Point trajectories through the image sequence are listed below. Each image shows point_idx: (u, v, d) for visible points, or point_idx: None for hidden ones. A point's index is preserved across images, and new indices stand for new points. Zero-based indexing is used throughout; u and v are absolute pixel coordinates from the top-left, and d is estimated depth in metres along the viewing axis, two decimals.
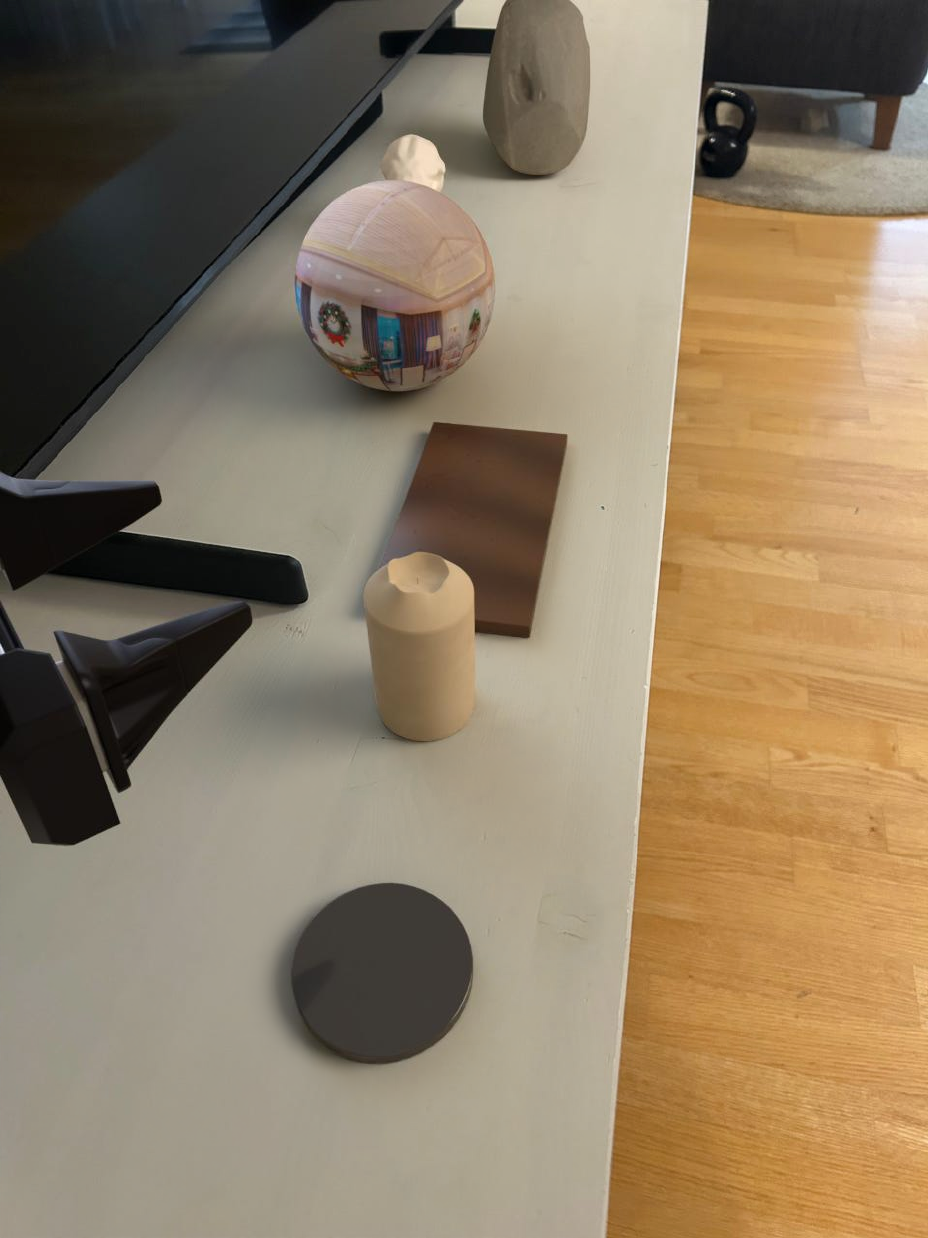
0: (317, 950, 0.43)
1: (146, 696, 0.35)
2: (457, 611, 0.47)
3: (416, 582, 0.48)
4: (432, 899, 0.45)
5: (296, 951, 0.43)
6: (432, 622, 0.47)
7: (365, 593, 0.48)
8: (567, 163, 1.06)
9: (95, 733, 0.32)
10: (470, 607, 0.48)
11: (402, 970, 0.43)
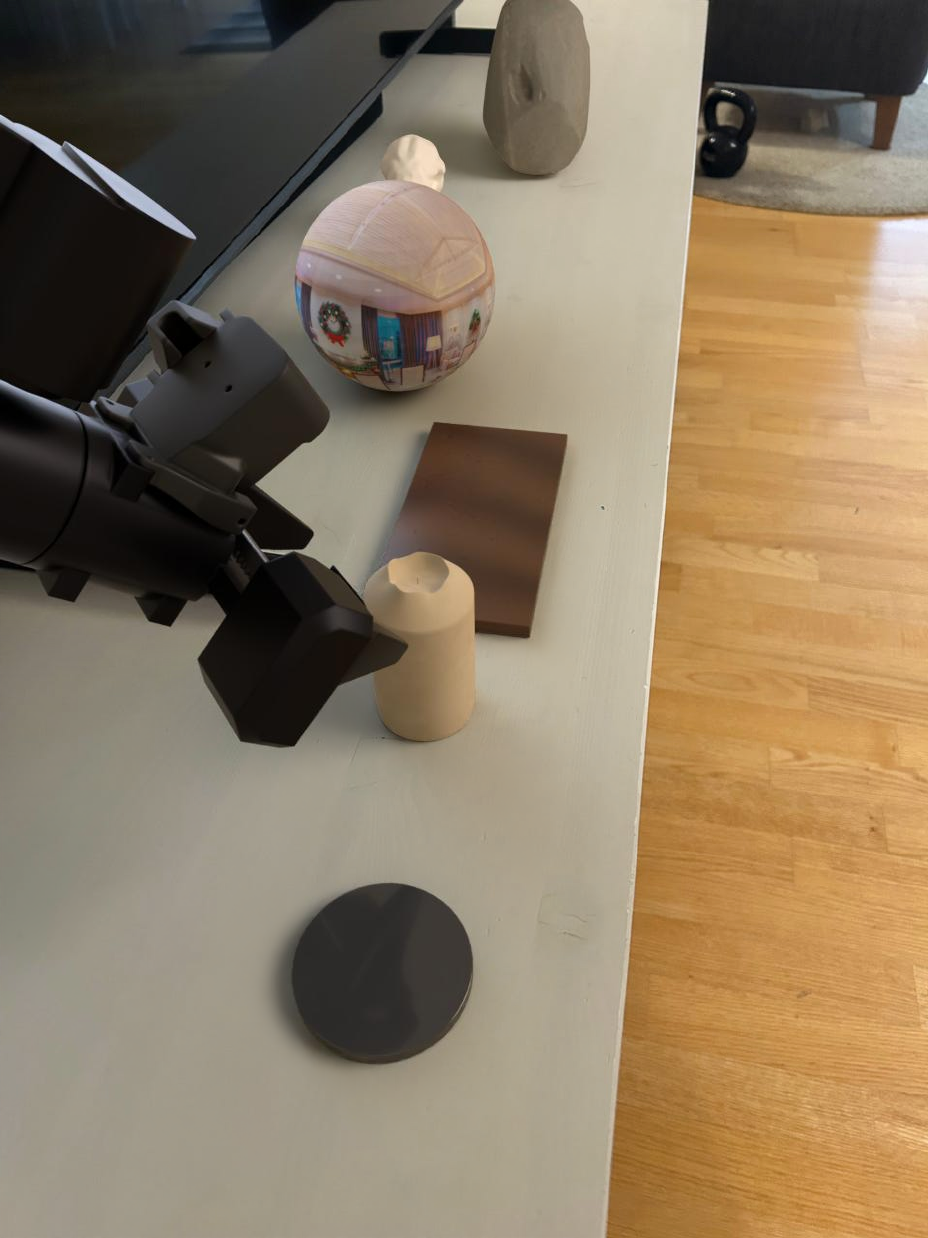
0: (317, 950, 0.43)
1: None
2: (457, 611, 0.47)
3: (416, 582, 0.48)
4: (432, 899, 0.45)
5: (296, 951, 0.43)
6: (432, 622, 0.47)
7: (365, 593, 0.48)
8: (567, 163, 1.06)
9: None
10: (470, 607, 0.48)
11: (402, 970, 0.43)
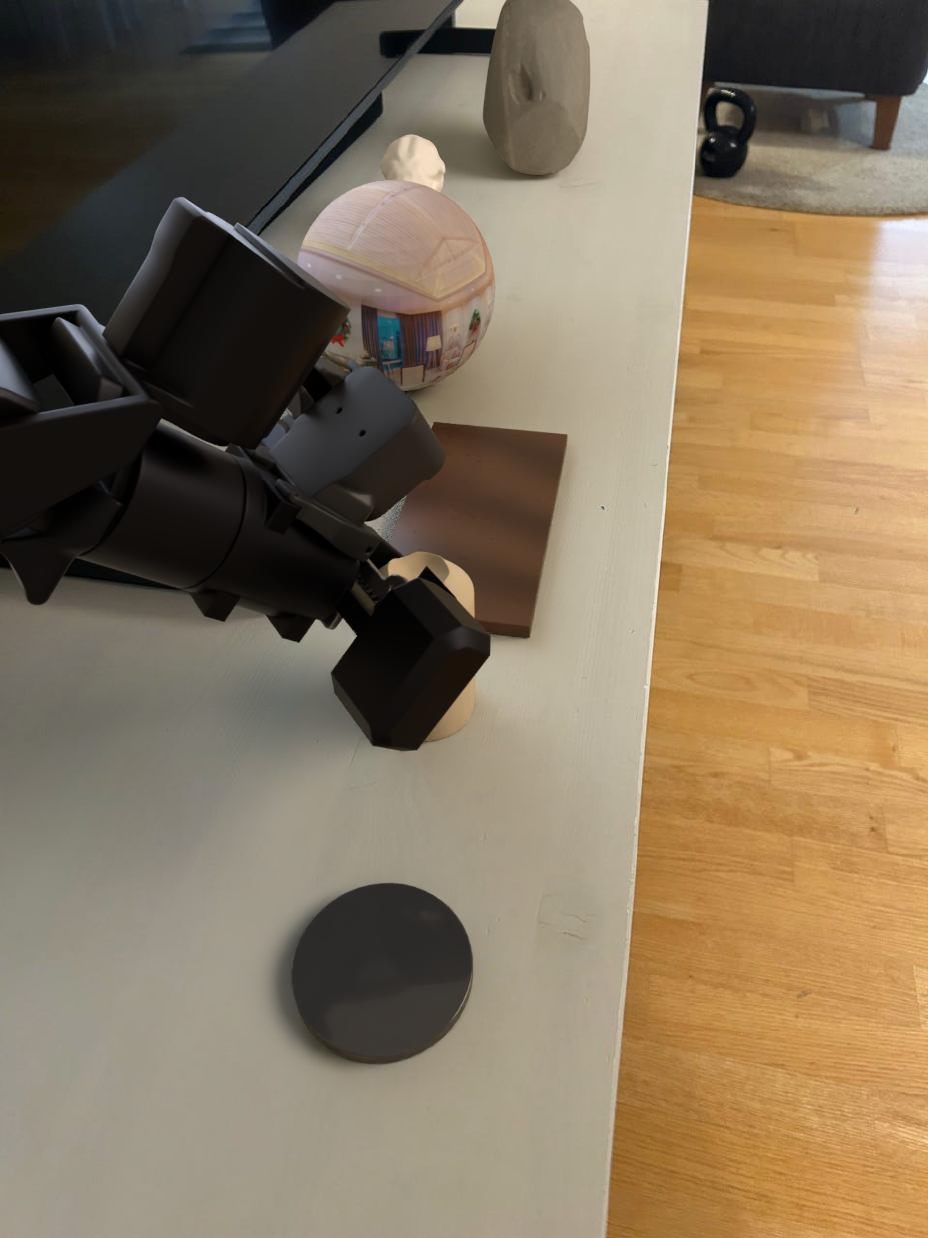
0: (317, 950, 0.43)
1: None
2: None
3: None
4: (432, 899, 0.45)
5: (296, 951, 0.43)
6: None
7: None
8: (567, 163, 1.06)
9: None
10: (470, 607, 0.48)
11: (402, 970, 0.43)
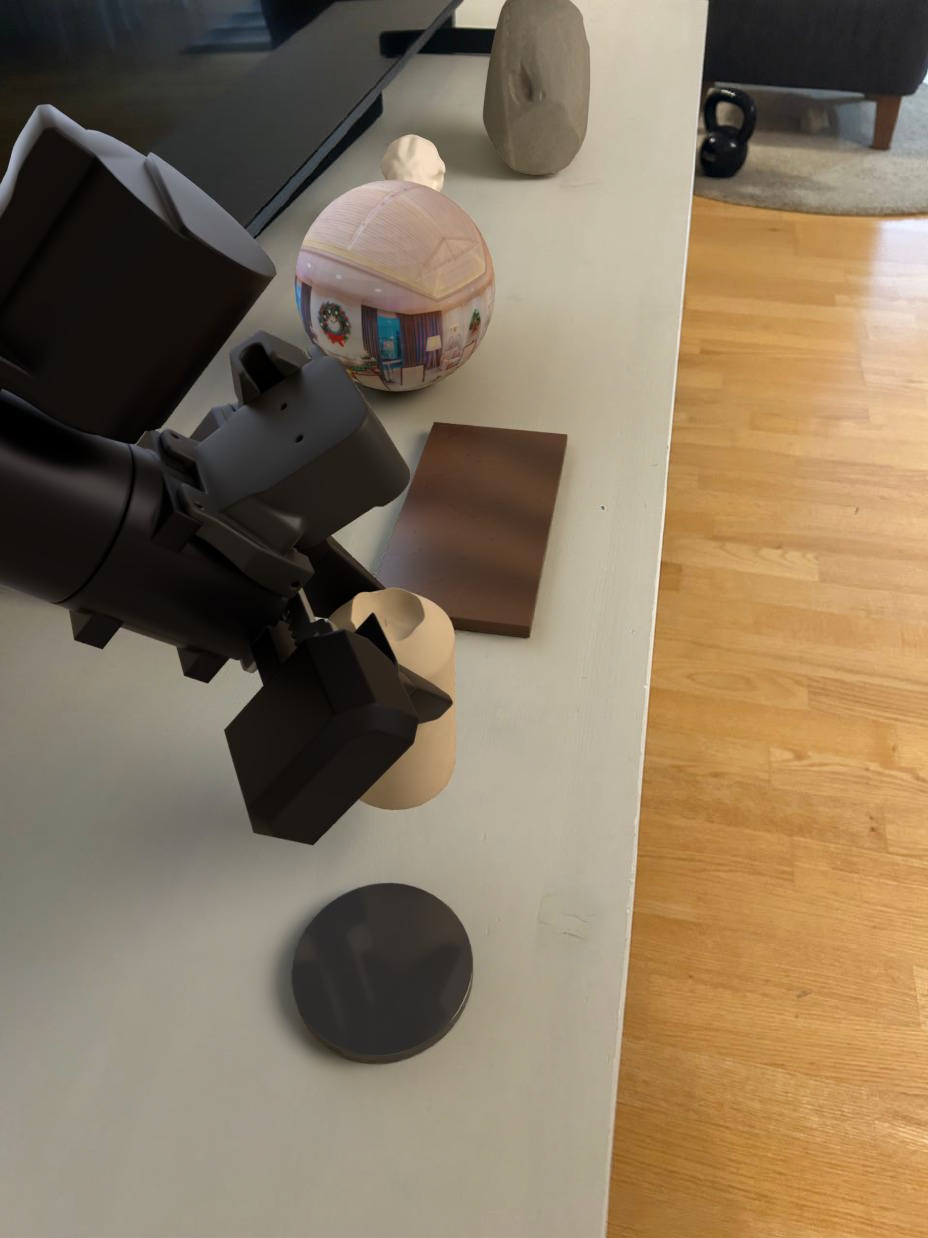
0: (317, 950, 0.43)
1: None
2: (425, 667, 0.38)
3: (385, 624, 0.40)
4: (432, 899, 0.45)
5: (296, 951, 0.43)
6: None
7: None
8: (567, 163, 1.06)
9: None
10: (444, 664, 0.39)
11: (402, 970, 0.43)
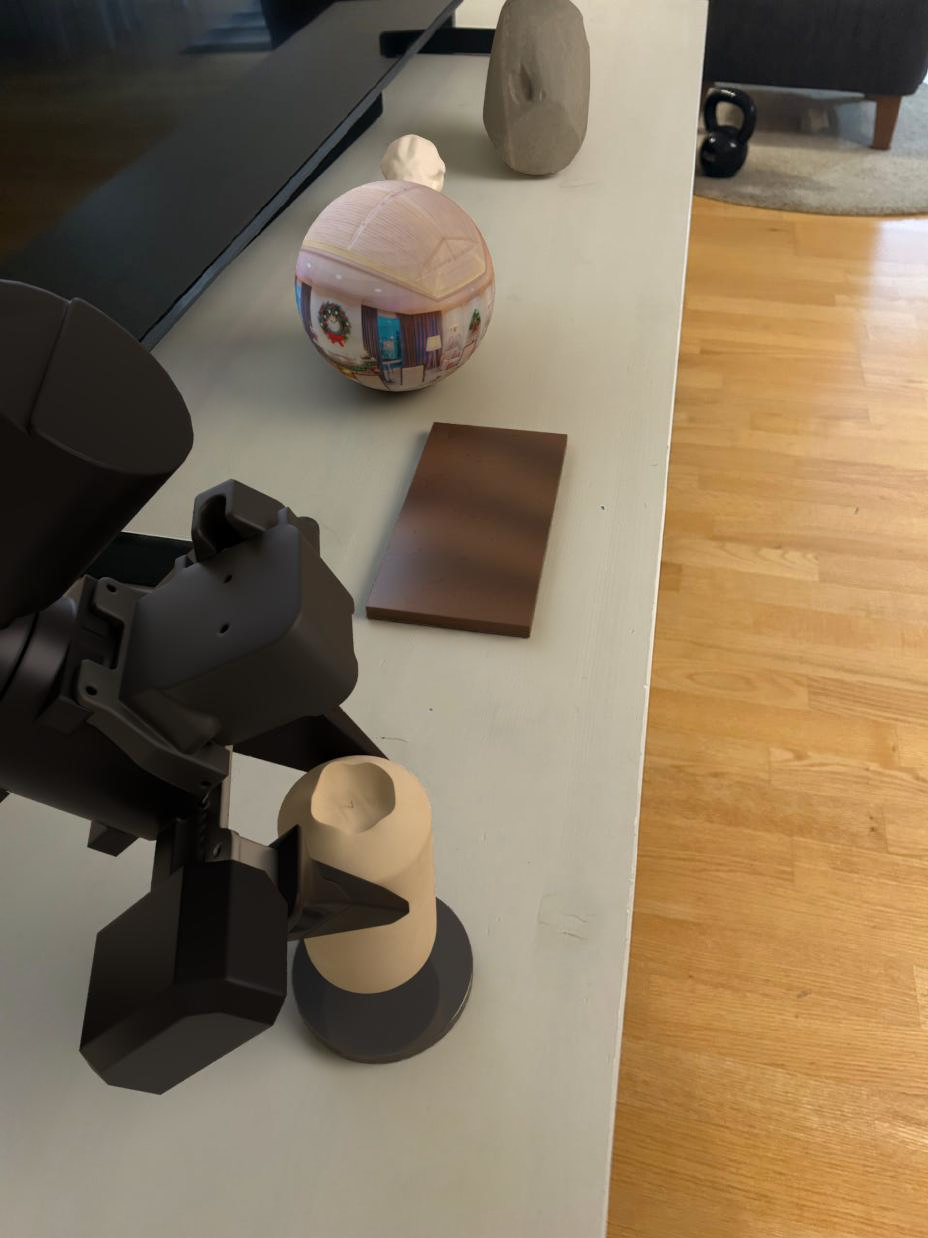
0: None
1: None
2: (379, 869, 0.33)
3: (352, 804, 0.35)
4: None
5: (296, 951, 0.43)
6: None
7: (290, 791, 0.36)
8: (567, 163, 1.06)
9: None
10: (405, 867, 0.34)
11: None
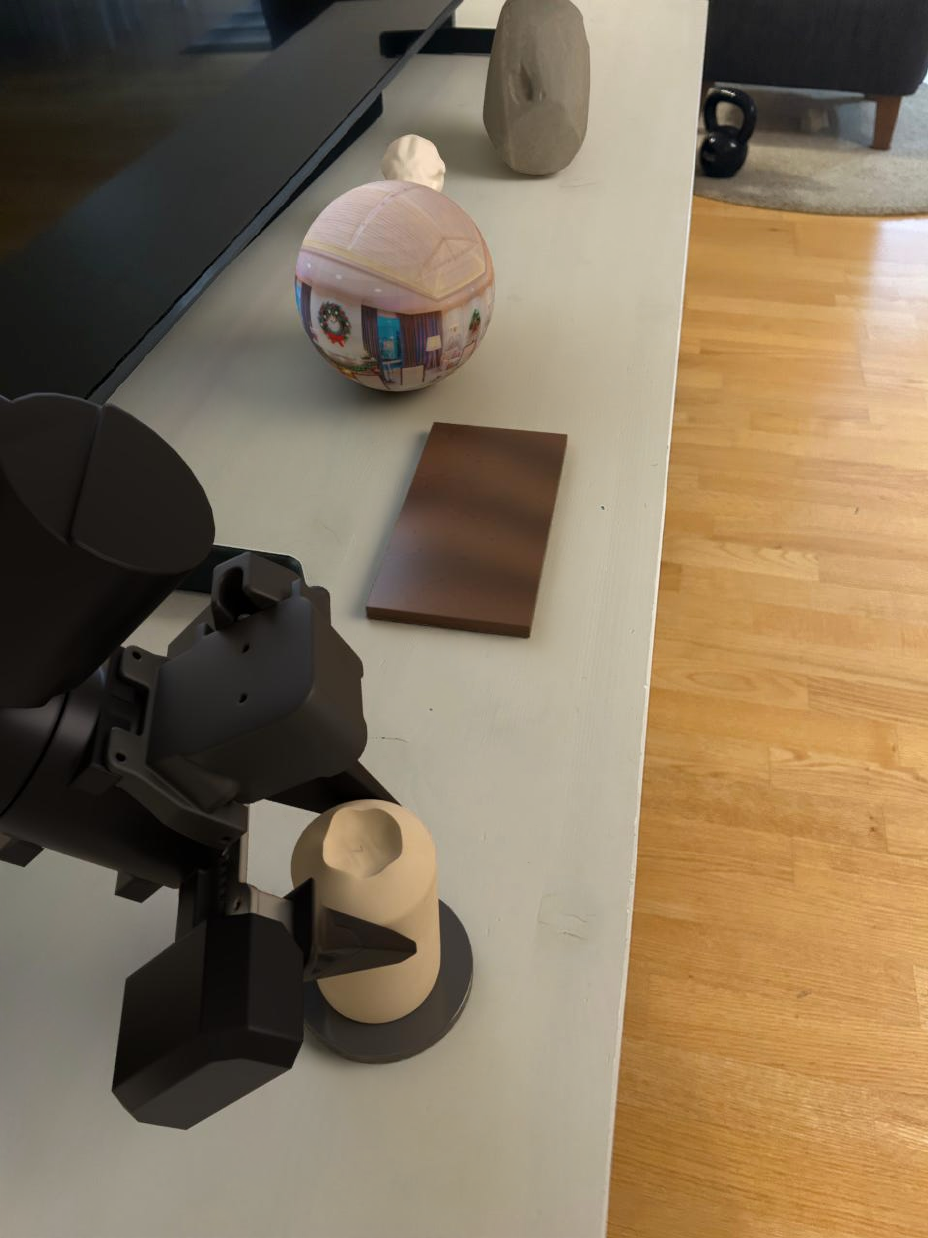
0: None
1: None
2: (387, 911, 0.35)
3: (361, 848, 0.37)
4: None
5: None
6: None
7: (302, 835, 0.38)
8: (567, 163, 1.06)
9: None
10: (411, 909, 0.36)
11: None
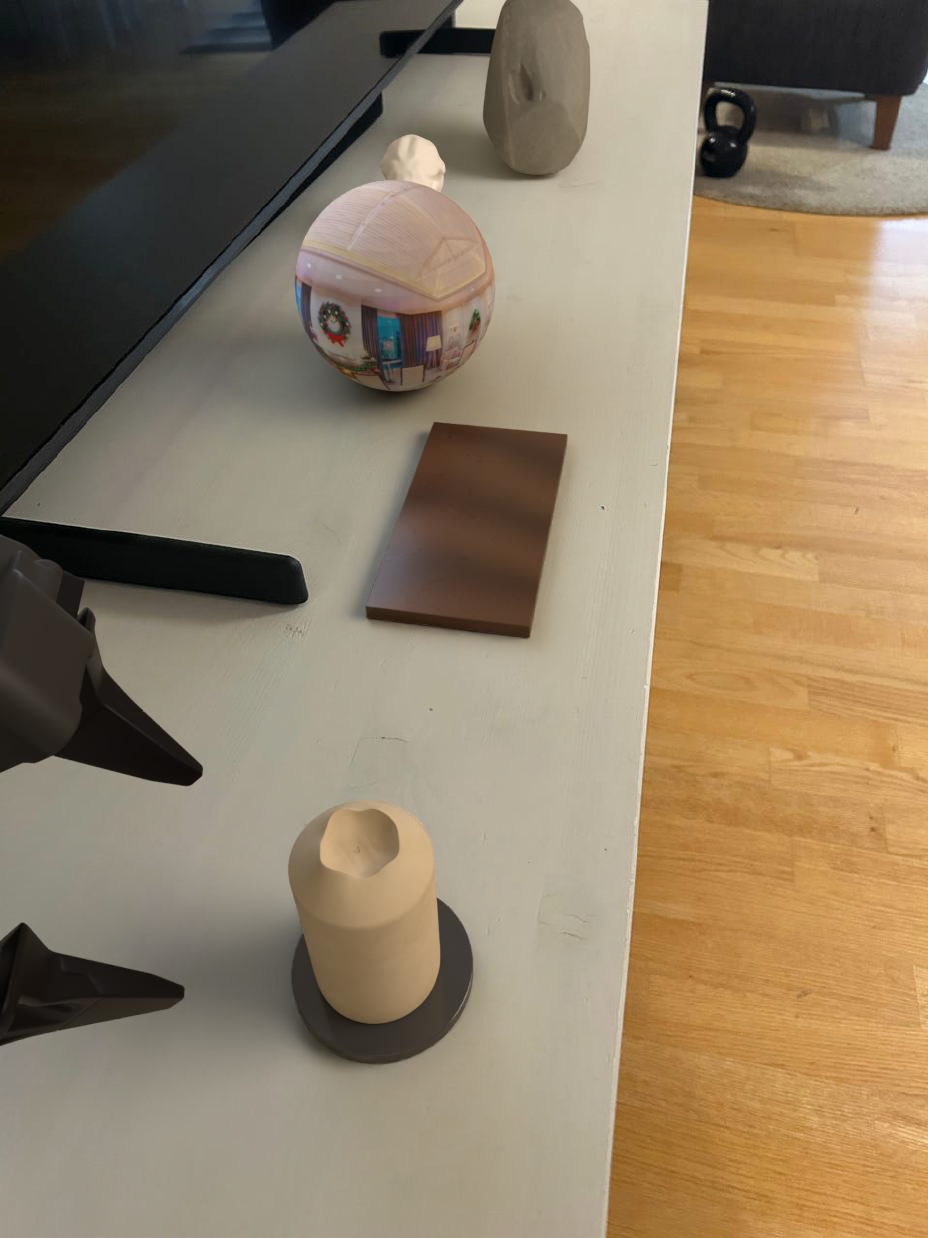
0: None
1: (23, 1015, 0.30)
2: (385, 912, 0.35)
3: (358, 849, 0.37)
4: None
5: (296, 951, 0.43)
6: (345, 916, 0.35)
7: (299, 836, 0.38)
8: (567, 163, 1.06)
9: None
10: (409, 909, 0.36)
11: None
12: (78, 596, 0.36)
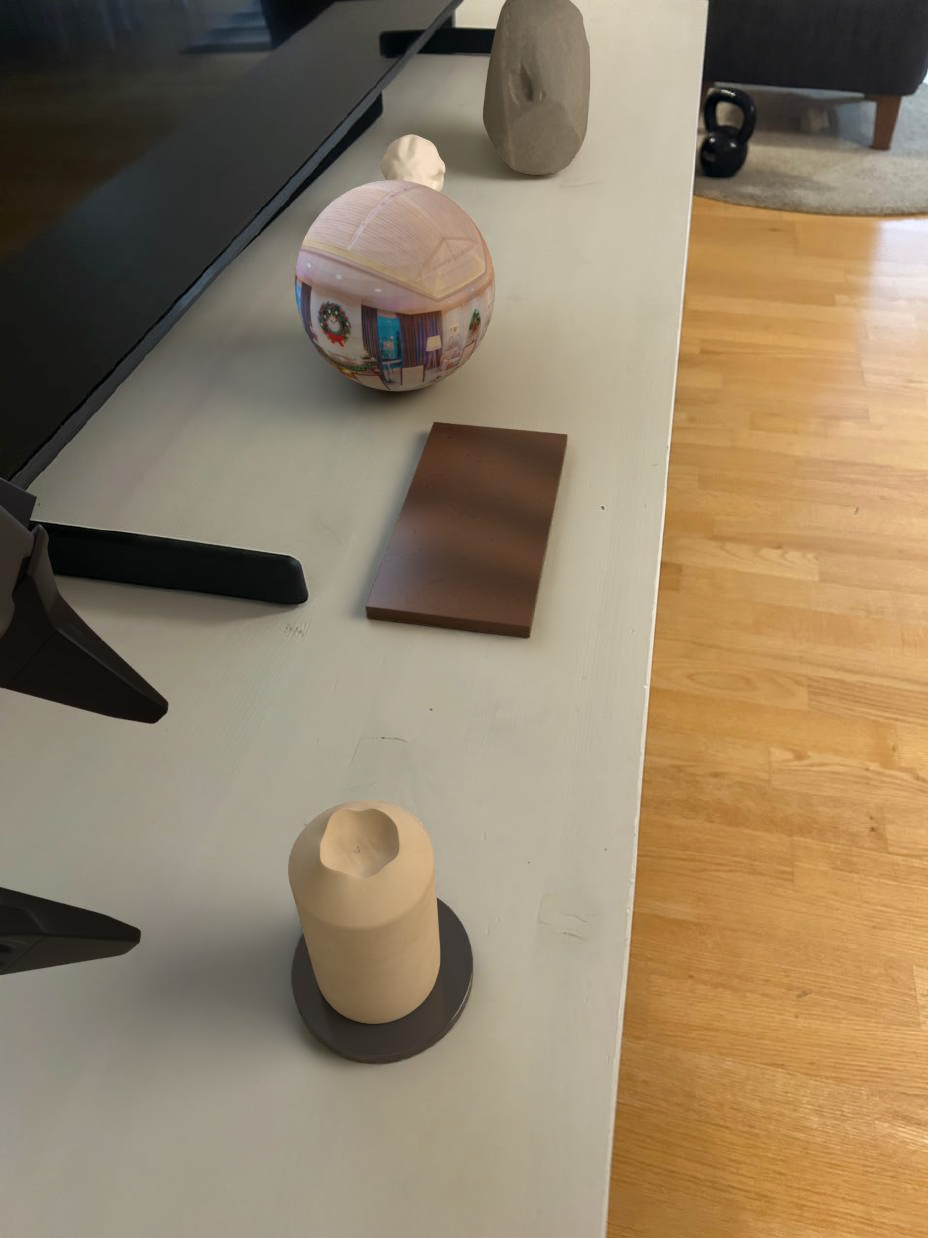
0: None
1: None
2: (385, 912, 0.35)
3: (358, 849, 0.37)
4: None
5: (296, 951, 0.43)
6: (345, 916, 0.35)
7: (299, 836, 0.38)
8: (567, 163, 1.06)
9: None
10: (409, 909, 0.36)
11: None
12: (28, 511, 0.33)
